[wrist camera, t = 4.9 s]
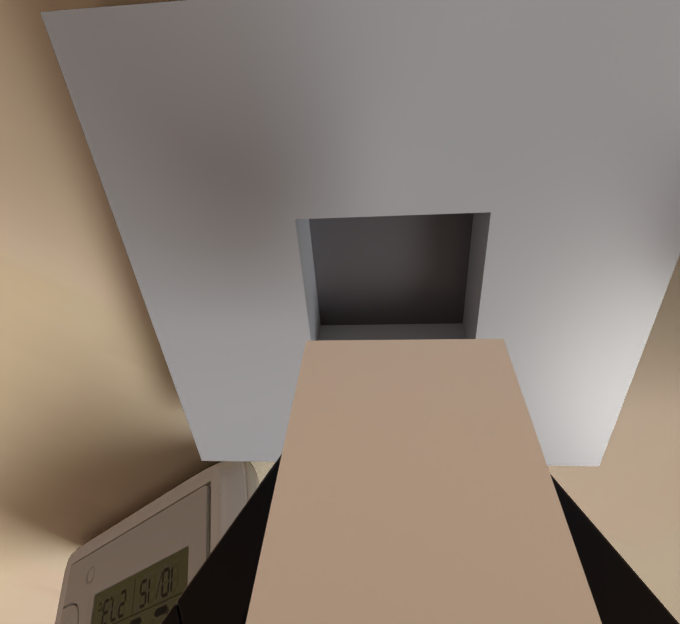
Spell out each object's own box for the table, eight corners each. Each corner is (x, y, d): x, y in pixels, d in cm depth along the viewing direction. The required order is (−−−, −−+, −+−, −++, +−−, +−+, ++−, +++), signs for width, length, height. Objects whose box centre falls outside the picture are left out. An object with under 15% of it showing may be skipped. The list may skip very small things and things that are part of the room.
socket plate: (720, -44, 11) (795, -50, 9) (576, 417, 20) (599, 466, 18) (94, 7, 13) (40, 12, 11) (218, 416, 22) (201, 460, 20)
